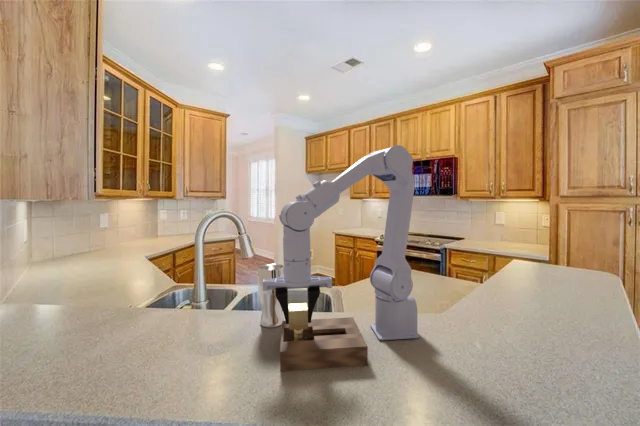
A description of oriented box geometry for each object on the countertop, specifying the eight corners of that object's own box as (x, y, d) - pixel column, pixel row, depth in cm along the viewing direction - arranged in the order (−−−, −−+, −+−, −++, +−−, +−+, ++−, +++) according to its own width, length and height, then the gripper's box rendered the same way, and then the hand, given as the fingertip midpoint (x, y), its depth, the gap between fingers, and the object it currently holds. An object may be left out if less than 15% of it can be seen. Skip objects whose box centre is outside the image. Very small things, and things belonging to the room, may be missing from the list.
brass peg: (307, 340, 67) (306, 302, 66) (308, 350, 63) (307, 310, 62) (289, 342, 67) (288, 303, 66) (289, 351, 63) (288, 311, 62)
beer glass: (253, 325, 77) (251, 268, 76) (269, 316, 83) (268, 262, 82) (275, 330, 74) (274, 270, 73) (290, 320, 80) (289, 265, 79)
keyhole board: (353, 332, 72) (352, 317, 72) (367, 365, 58) (367, 346, 58) (282, 336, 71) (282, 321, 71) (280, 371, 57) (279, 351, 57)
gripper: (328, 253, 68) (329, 312, 68) (264, 256, 66) (265, 315, 67) (333, 260, 61) (333, 325, 61) (260, 263, 59) (262, 329, 60)
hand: (298, 321), depth 64 cm, fingers closed on brass peg, 4 cm apart
